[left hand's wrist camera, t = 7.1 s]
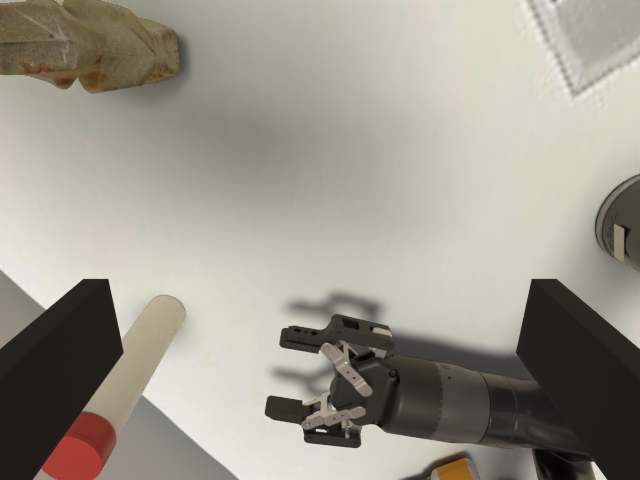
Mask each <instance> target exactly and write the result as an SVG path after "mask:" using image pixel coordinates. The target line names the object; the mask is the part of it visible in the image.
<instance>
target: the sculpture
mask: <svg viewBox="0 0 640 480" xmlns="http://www.w3.org/2000/svg"><path fill="white" fill-rule="evenodd" d="M179 72H180V63H179V51H178V44H177V38H176V34H175V32H174V31H173V30H172V29H170V28H168V27H166V26H164V25H162V24H159V23H156V22H153V21H150V20H146V19H141V18H137V17H136V16H135V15H134V14H133V13H132V12H131V11H130V10H128V9H126V8H124V7H121V6H118V5H114V4H110V3H107V2H104V1H101V0H64V1H63V2H62V6H61V5H59V4H58V3H57V2H56V1H55V0H27V1H26V2H16V3H0V75H27V76H31V77H34V78H37V79H41V80H44V81H47V82H49V83H52V84H53V85H55V86H56V87H58V88H60V89H68V88H69V87H70V86H71V85H72V84H73V82H74V81H75V80H76V78H77V77H78V79H79V81H80V83H81V84H82V86H83V88H84V89H85V90H86V91H88V92H89V93H92V94H95V93H101V92H105V91H110V90H117V89H122V88H130V87H134V86H141V85H143V84H152V83H157V82H161V81H164V80H167V79H169V78H172V77H174V76H176V75H178V74H179Z"/></svg>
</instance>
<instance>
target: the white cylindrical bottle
mask: <svg viewBox="0 0 640 480" xmlns="http://www.w3.org/2000/svg"><path fill="white" fill-rule="evenodd" d="M184 318H185V309H184V307H183V305H182V304H181V303H180V302H179V301H178V300H177V299H175V298H173V297H171V296H158V297H156V298H154V299H153V300H151V302H150V303H149V304H148V306H147V307H146V308H145V310H144V311H143V312H142V313H141V315H140V316H139V317H138V319H137V320H136V321H135V323H134V324H133V325H132V327H131V328H130V329H129V331H128V332H127V333H126V335H125V336H124V337H123V339H122V340H121V341H122V346H123V351H124V353H123V355H122V356H121V358H120V359H119V360H118V362H117V363H116V364H115V366H114V367H113V369H112V370H111V371H110V373H109V374H108V376H107V377H106V378H105V380H104V381H103V383H102V384H101V385H100V387H99V388H98V390H97V391H96V392H95V394H94V395H93V396H92V398H91V399H90V401H89V402H88V403H87V405H86V406H85V408H84V409H83V410H82V412H87V413H91V414H94V415H97V416H99V417H101V418H102V419H104V420H105V421H107V422H108V423H109V424H110V425H111V426H112V428H113V429H114V431H115V434H116V439H117V437H118V436H119V434H120V432H121V430H122V428H123V426H124V425H125V423H126V421H127V420H128V418H129V416H130V414H131V412H132V411H133V409H134V407H135V405H136V404H137V402H138V400H139V398H140V396H141V395H142V393H143V391H144V389H145V388H146V386H147V384H148V382H149V380H150V379H151V377H152V375H153V373H154V372H155V370H156V368H157V366H158V364H159V363H160V361H161V359H162V357H163V356H164V354H165V352H166V350H167V349H168V347H169V345H170V343H171V341H172V340H173V338H174V336H175V334H176V333H177V331H178V329H179V327H180V325H181V324H182V322H183V320H184Z"/></svg>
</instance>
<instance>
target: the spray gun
mask: <svg viewBox="0 0 640 480" xmlns="http://www.w3.org/2000/svg"><path fill="white" fill-rule="evenodd" d="M426 480H480V477H479V475H478V472H477V470H476V468H475V466H474V464H473V462H472V460H470V459H468V458H463V459H460V460H457V461H454V462H452V463H449V464H446V465H443V466H440V467H438V468H436V469H434V470H433V471H432V474H431V477H430V476H429V477H427V478H426Z"/></svg>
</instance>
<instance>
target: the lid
mask: <svg viewBox="0 0 640 480" xmlns="http://www.w3.org/2000/svg"><path fill="white" fill-rule="evenodd" d="M115 445H116V434H115V431H114V429H113V428H112V426H111V425H110V424H109V423H108V422H107V421H105V420H104V419H102V418H101V417H99V416H97V415H94V414H91V413H87V412H81V413H80V415H79V416H78V417H77V419H76V420H75V422H74V423H73V424H72V426H71V427H70V428H69V430H68V431H67V433H66V434H65V435H64V437H63V438H62V440H61V441H60V442H59V444H58V445H57V447H56V448H55V449H54V451H53V452H52V454H51V455H50V456H49V458H48V459H47V461H46V462H45V463H44V465H43V466H42V467H41V469H42V470H43V471H44V472H45V473H47V474H48V475H49V476H51V477H53V478H55V479H57V480H93V479H94V478H96V477H97V476H98V475H99V474H100V472H101V470H102V468H103V467H104V465H105V463H106V461H107V459H108V458H109V456H110V454H111V452H112V450H113V449H114V447H115Z"/></svg>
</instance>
